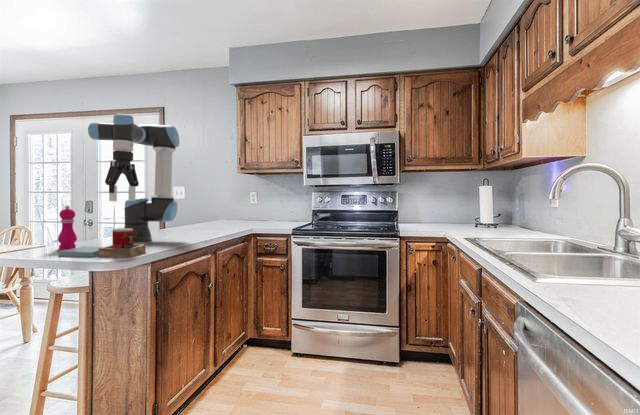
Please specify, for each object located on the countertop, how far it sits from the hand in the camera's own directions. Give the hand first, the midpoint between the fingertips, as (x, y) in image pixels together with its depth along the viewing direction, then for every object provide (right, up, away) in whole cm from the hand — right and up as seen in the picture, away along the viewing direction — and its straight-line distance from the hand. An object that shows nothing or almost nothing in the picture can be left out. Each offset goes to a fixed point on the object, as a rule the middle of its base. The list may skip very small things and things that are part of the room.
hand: (122, 201), depth 151 cm
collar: (-1, -23, +1) cm, 23 cm away
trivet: (-16, -23, +1) cm, 27 cm away
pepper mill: (-33, -22, +13) cm, 42 cm away
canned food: (-1, -23, +1) cm, 23 cm away
